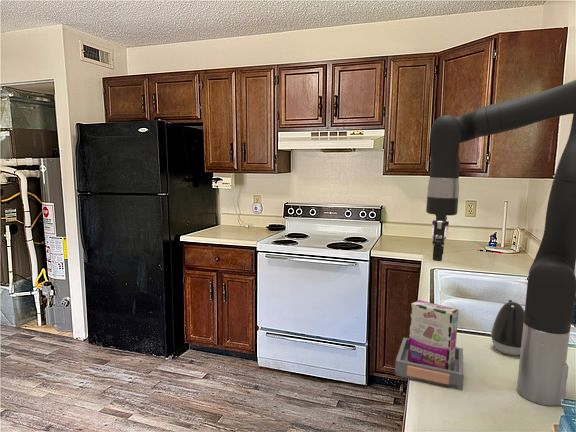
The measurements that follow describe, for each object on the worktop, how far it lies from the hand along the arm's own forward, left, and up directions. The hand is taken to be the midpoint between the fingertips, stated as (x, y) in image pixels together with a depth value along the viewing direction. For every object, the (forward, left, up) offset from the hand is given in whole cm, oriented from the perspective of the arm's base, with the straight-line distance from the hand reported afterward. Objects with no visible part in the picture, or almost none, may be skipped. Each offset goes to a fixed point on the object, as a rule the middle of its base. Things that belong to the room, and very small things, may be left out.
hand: (438, 257), depth 105 cm
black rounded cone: (-21, -21, -30) cm, 43 cm away
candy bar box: (0, 0, -30) cm, 30 cm away
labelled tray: (0, +1, -30) cm, 30 cm away
